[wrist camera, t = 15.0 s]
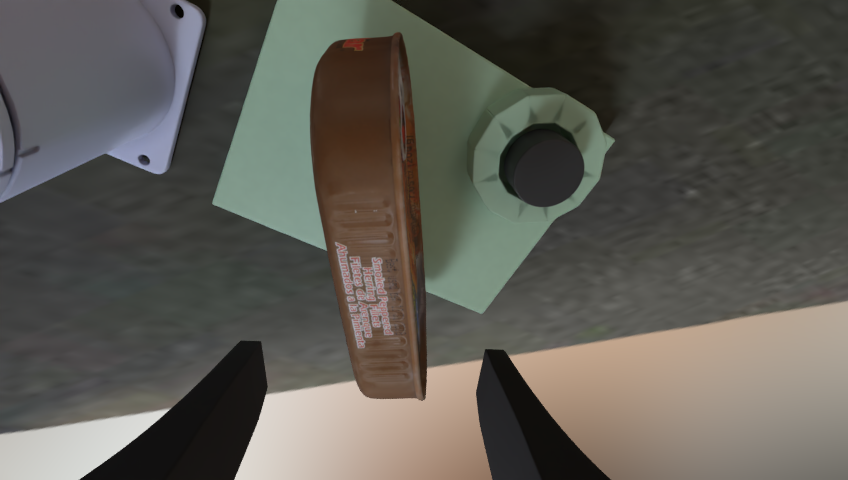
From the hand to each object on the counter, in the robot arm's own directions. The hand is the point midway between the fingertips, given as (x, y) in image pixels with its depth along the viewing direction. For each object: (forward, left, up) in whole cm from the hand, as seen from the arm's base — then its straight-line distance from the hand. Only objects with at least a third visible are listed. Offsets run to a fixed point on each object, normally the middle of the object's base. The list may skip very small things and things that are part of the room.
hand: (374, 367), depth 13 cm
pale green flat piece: (0, +4, -10) cm, 11 cm away
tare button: (+4, +7, -8) cm, 11 cm away
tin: (-1, +2, -9) cm, 10 cm away
